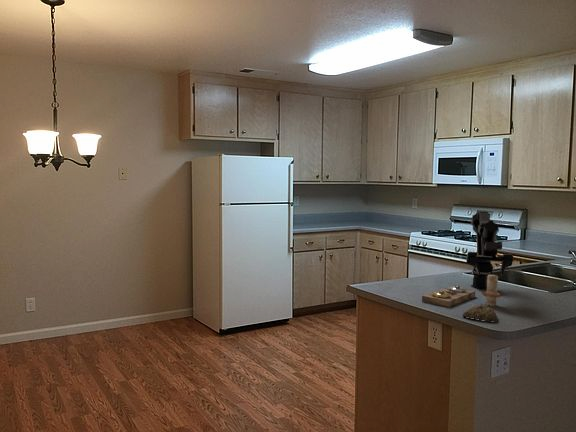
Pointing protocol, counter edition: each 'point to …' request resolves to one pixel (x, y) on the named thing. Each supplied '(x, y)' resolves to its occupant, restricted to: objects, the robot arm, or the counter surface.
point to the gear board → (447, 302)
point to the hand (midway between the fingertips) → (490, 274)
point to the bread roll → (481, 313)
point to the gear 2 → (457, 289)
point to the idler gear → (491, 290)
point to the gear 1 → (441, 294)
